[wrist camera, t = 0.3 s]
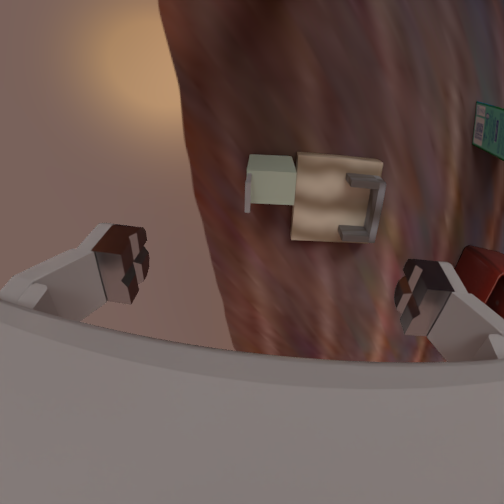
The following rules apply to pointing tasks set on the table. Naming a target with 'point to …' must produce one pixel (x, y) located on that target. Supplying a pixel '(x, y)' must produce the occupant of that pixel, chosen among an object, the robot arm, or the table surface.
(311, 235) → the dock
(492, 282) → the plant pot
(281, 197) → the pale green handled box
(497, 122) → the milk carton
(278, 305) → the table surface
